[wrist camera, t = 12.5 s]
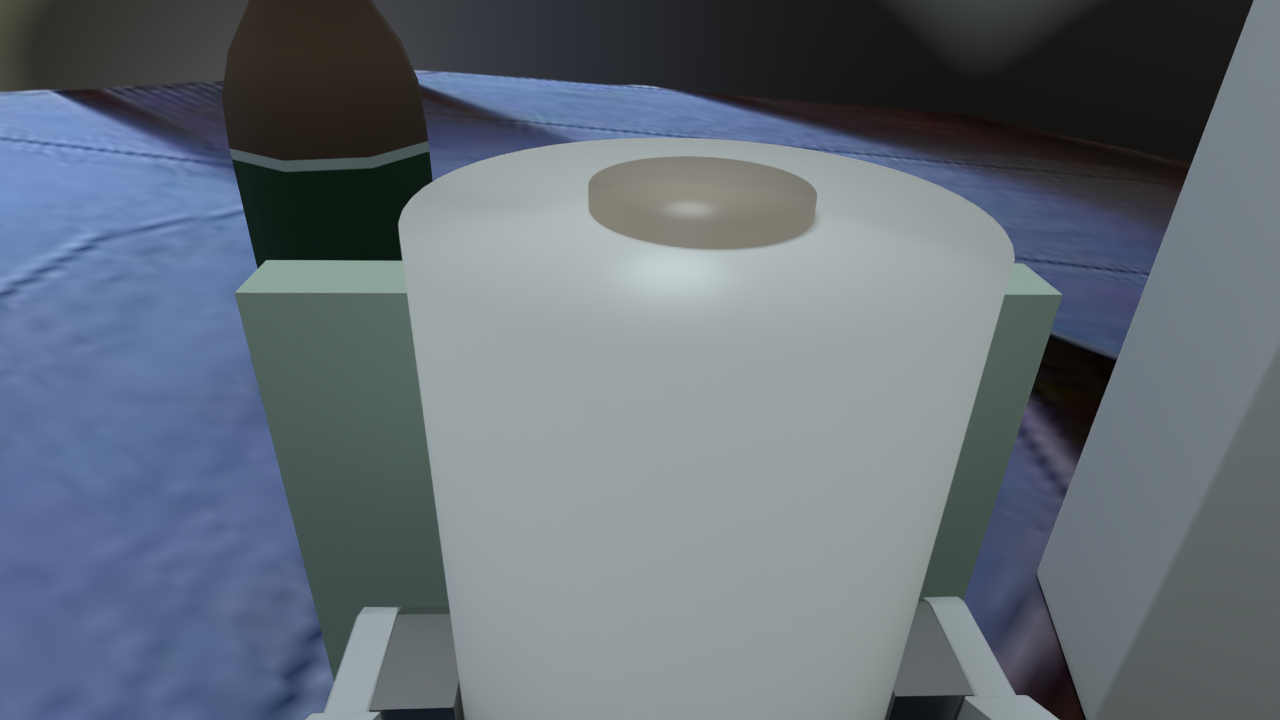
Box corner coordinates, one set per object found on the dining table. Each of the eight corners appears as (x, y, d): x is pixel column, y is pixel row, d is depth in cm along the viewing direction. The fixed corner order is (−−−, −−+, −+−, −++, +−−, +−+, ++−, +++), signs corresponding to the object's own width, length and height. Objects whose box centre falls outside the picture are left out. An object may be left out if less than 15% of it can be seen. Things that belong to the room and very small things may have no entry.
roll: (458, 1128, 12) (254, 274, 5) (547, 799, 16) (508, 109, 9) (800, 1209, 11) (1132, 356, 4) (795, 843, 16) (952, 136, 9)
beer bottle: (487, 382, 36) (432, -279, 24) (316, 439, 31) (146, -331, 20) (418, 320, 41) (345, -247, 29) (263, 361, 37) (105, -281, 25)
